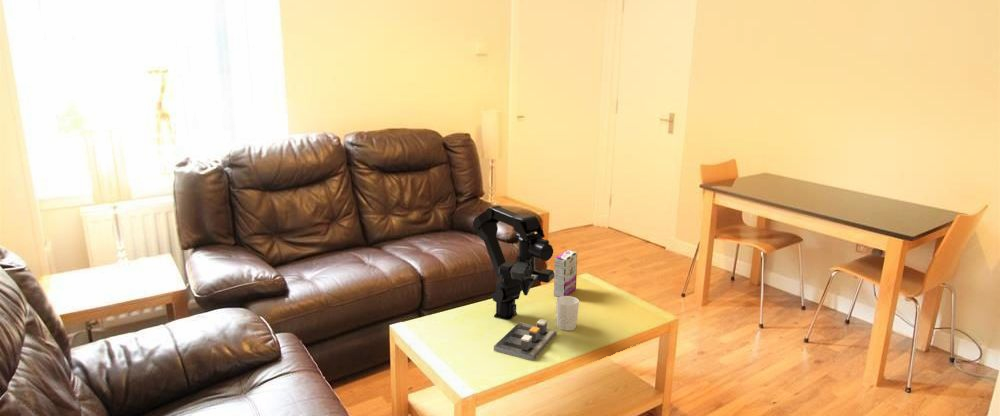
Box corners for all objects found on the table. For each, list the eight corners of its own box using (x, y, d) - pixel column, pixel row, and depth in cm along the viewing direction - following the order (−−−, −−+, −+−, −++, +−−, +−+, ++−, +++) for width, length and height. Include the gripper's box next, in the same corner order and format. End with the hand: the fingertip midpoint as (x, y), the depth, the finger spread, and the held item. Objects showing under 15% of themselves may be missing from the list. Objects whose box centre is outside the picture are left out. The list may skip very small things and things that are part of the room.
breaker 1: (520, 348, 193) (521, 338, 193) (524, 344, 196) (525, 334, 195) (527, 350, 192) (528, 340, 191) (531, 346, 195) (532, 336, 194)
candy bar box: (565, 287, 248) (567, 249, 244) (576, 289, 246) (578, 251, 242) (552, 296, 239) (554, 257, 235) (564, 299, 237) (565, 259, 232)
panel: (493, 350, 196) (493, 346, 196) (519, 326, 213) (519, 321, 213) (533, 360, 190) (533, 356, 190) (556, 334, 207) (556, 330, 207)
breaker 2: (528, 340, 199) (529, 330, 198) (532, 336, 202) (532, 326, 201) (535, 341, 198) (536, 331, 197) (539, 337, 201) (539, 328, 200)
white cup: (576, 332, 209) (578, 306, 206) (554, 330, 211) (555, 303, 208) (578, 322, 216) (579, 297, 214) (556, 320, 218) (557, 294, 215)
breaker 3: (536, 332, 205) (536, 322, 204) (540, 328, 207) (540, 318, 207) (543, 333, 204) (543, 324, 203) (546, 330, 206) (547, 320, 205)
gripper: (491, 255, 203) (491, 298, 207) (543, 264, 195) (541, 309, 199) (506, 245, 212) (505, 287, 216) (555, 254, 204) (554, 297, 209)
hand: (525, 295), depth 210 cm, fingers closed
